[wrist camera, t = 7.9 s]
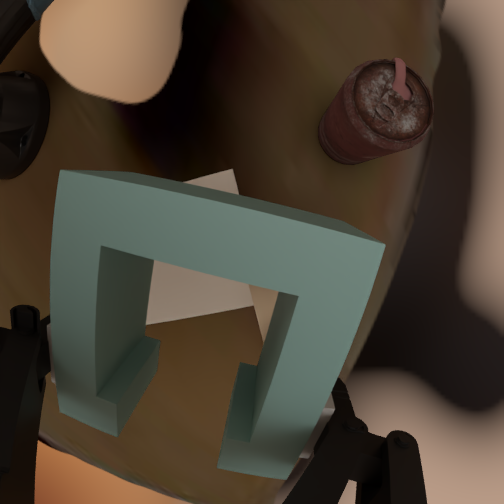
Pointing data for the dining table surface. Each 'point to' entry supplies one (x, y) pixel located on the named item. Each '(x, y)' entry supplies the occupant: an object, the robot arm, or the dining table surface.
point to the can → (376, 113)
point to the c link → (214, 263)
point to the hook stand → (263, 306)
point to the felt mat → (195, 278)
